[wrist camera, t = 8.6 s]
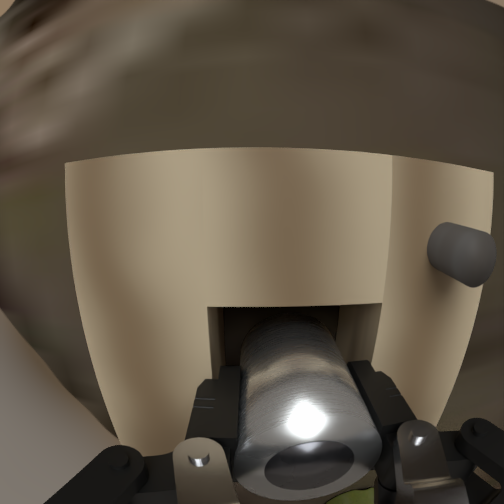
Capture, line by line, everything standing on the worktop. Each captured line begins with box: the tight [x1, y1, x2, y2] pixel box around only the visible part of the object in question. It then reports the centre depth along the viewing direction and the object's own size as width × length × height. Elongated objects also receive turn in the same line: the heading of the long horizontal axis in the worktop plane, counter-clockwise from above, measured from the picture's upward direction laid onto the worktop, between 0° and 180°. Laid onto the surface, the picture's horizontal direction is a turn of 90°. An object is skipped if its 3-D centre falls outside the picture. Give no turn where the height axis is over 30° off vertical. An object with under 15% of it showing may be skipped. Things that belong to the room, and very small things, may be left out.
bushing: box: [233, 312, 382, 501], centre depth 9 cm, size 4×4×6 cm
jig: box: [65, 147, 496, 457], centre depth 12 cm, size 16×14×7 cm
